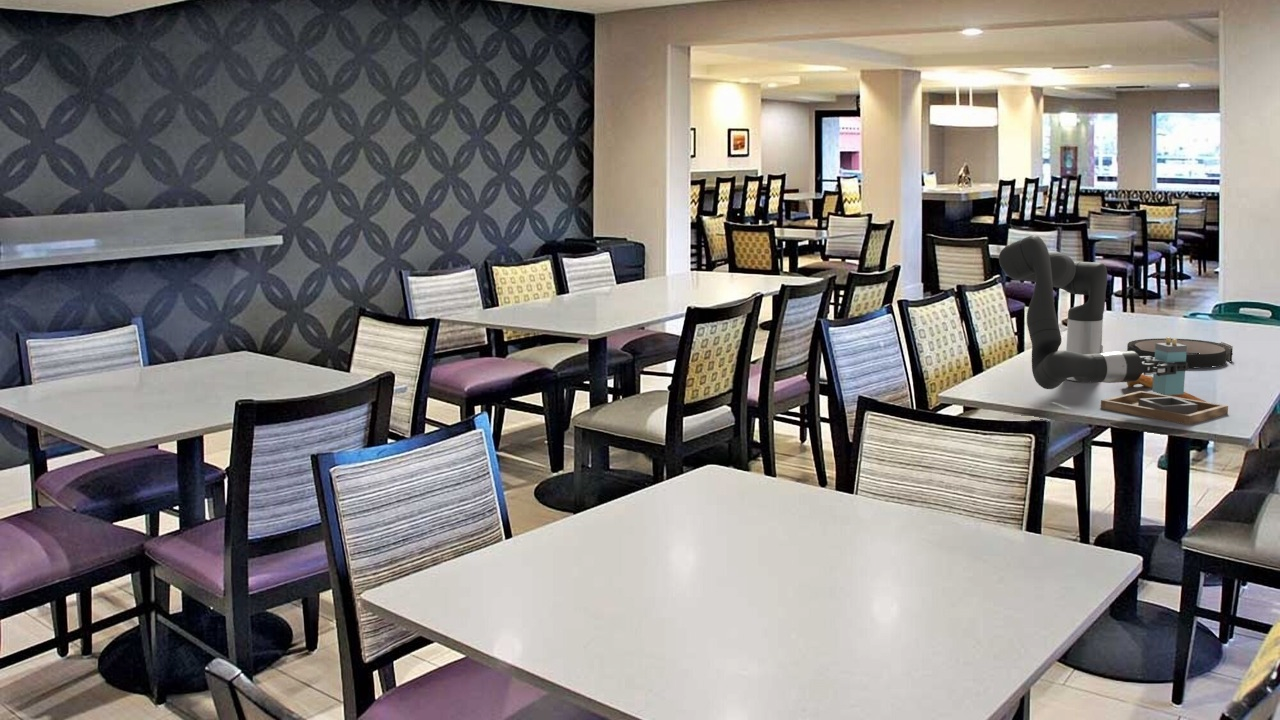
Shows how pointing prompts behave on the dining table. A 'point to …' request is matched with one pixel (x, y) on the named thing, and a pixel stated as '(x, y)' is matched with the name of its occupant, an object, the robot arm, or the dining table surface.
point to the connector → (1174, 381)
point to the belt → (1189, 351)
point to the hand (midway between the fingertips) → (1179, 364)
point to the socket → (1169, 404)
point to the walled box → (1130, 405)
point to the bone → (1148, 382)
